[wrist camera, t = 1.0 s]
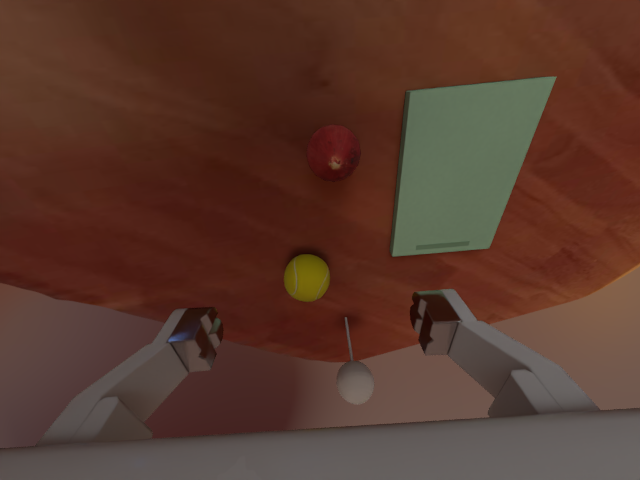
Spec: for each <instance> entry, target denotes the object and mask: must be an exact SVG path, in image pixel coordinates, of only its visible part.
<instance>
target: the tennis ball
mask: <svg viewBox="0 0 640 480" xmlns="http://www.w3.org/2000/svg"><path fill="white" fill-rule="evenodd" d="M329 282H330V272H329V269H328V266H327V265H326V263H325V262H324V261H323V260H322V259H321V258H319V257H317V256H314V255H310V254H303V255H299V256H297V257H295V258H294V259H292V260H291V261H290V263H289V264H288V265H287V267H286V270H285V273H284V284H285V288H286V290H287V292H288V293H289V294H290V295H291V296H292V297H293V298H295V299H297V300H300V301H305V302H309V301H314V300H316V299H319V298H320V297H322V296H323V295H324V293H325V292H326V290H327V288H328V286H329Z"/></svg>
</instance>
